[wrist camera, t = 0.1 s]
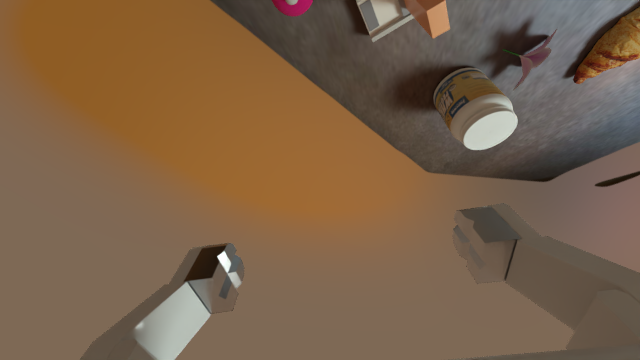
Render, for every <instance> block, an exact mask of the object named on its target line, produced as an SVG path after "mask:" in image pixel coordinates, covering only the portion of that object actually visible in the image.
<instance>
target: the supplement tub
mask: <svg viewBox="0 0 640 360" xmlns="http://www.w3.org/2000/svg"><path fill="white" fill-rule="evenodd" d="M433 100H434V105H435V107H436V108H437V110H438V112H439V113H440V115H441V117H442V118H443V120H444V122H445V123H446V125H447V126H448V128H449V130H450V131H451V133H452V135H453V136H454V137H455V138H456V139H457V140H459V141H461V142H462V143H463V144H464V145H465V146H466V147H467V148H469V149H472V150H482V149H487V148H490V147H493V146H495V145H497V144H499V143H500V142H502V141H503V140H505V139H506V138H507V137H508V136H510V135H511V133H512V132H513V131H514V129H515V128H516V126H517V122H518V120H517V116H516V115H515V114H514V111H513V106H512V103H511V102H510V100H509V99H508V98H507V97H506V96H505V95H504V94H503V93H502V92H501V91H500V90H499V89H498V88H497V87H496V86H495V85H494V84H493V82H492V81H491V80H490V79H489V78H488V77H487V76H486V75H485V74H484V73H483V72H482V71H480V70H478V69H476V68H462V69H459V70H457V71H454V72H453V73H451V74H449V75H448V76H447V77H445V78H444V79H443V80H442V81H441V82H440V83H439V85H438V86H437V88H436V90H435V92H434V96H433Z"/></svg>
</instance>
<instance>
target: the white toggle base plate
mask: <svg viewBox="0 0 640 360" xmlns="http://www.w3.org/2000/svg"><path fill="white" fill-rule="evenodd" d="M356 3H357V5H358V7H359V10H360V12H361V15H362V17H363V20H364V22H365V25H366V27H367V30H368V32H369V35H370V37H371V39H372V41H373V42H374V41H376V40H378V39H379V38H381V37H383V36H384V35H386V34H388V33H389V32H391V31H393V30H394V29H396V28H398V27H399V26H401V25H403V24H404V23H406V22H408V21H409V20H411V19H413V18H414V17H413V16H412V14H411V13H409V14H408V15H406V16H404V17H403V15H402V12H401V9H400V5H399V2H398V0H356Z"/></svg>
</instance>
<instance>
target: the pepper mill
mask: <svg viewBox="0 0 640 360" xmlns="http://www.w3.org/2000/svg"><path fill="white" fill-rule="evenodd" d="M272 2H273V3H274V5H275V6H276V8H277V9H278V10H279V11H280V12H282V13H283V14H285V15H287V16H299V15H301V14H303V13H304V12H306V11H307V10H308V9H309V7H310V6H311V4H312V2H313V0H272Z"/></svg>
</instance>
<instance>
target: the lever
mask: <svg viewBox="0 0 640 360" xmlns="http://www.w3.org/2000/svg"><path fill="white" fill-rule="evenodd" d="M398 2H399V5H400V9H401V12H402V15H403V17H404V16H406V15H408V14H409V13H411V14H412V16H413V17H414V18H415V19H416V20H417V21H418V22H419V24H420V25H421V26H422V27H423V28H424V29H425V30H426V32H427V33H428V34H429V35H430V36H431V37H432V38H435V37H436V36H438V35H440V34H442V33H444V32H446V31H447V30H449V29H450V26H449V20H448V14H447V8H446V2H445V0H398Z"/></svg>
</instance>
